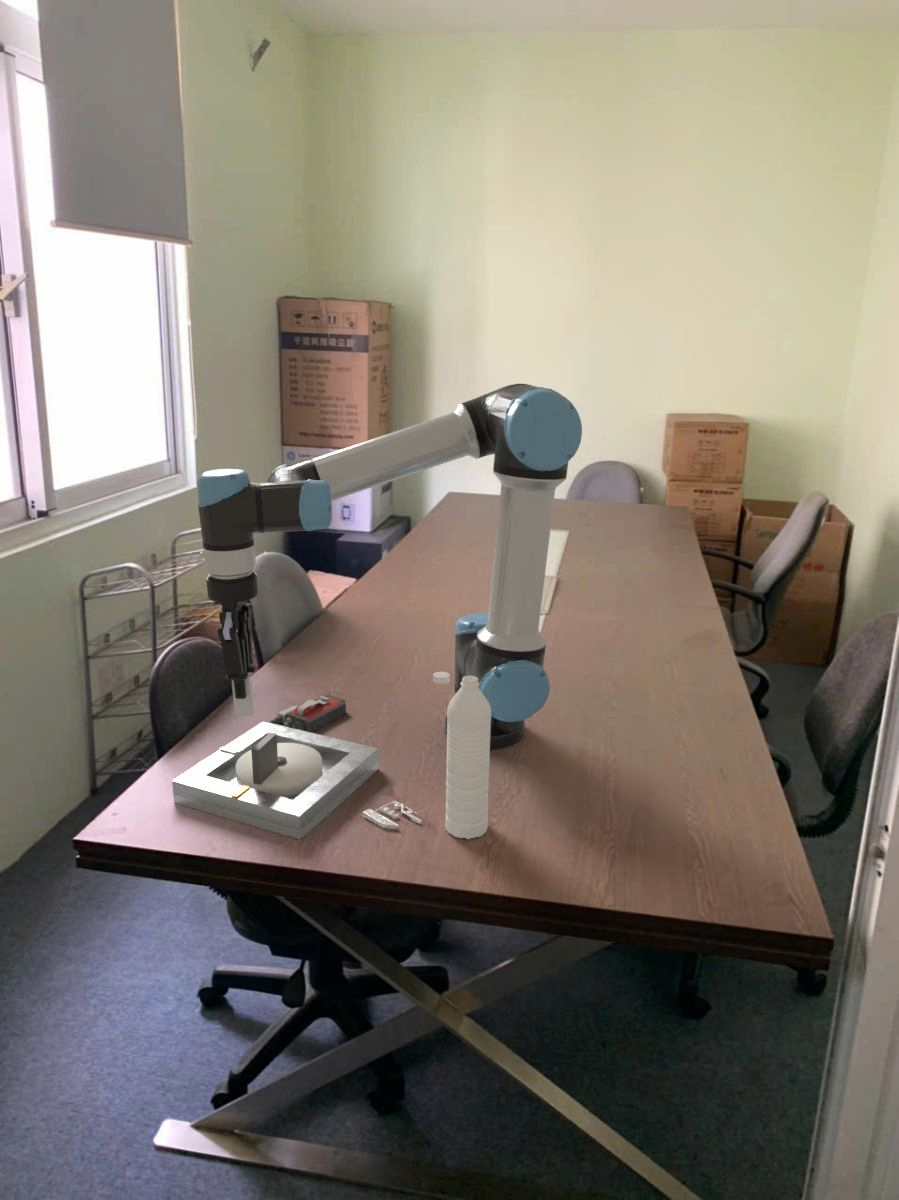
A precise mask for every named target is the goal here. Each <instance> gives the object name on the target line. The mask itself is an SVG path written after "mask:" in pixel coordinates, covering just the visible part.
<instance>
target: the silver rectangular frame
mask: <svg viewBox="0 0 899 1200" xmlns="http://www.w3.org/2000/svg"><path fill="white" fill-rule="evenodd" d="M268 722H269V721H261V722H260V723H258V724H257V725H255V726H254V727H252V728H251V729H249V730H247V731H246V732H245V733H243V734H242V735H240V736H238V737H236V738H235V739H233V741H231V742H229V743H228V744H225V746H221V747H219V749H218V750H217V751H216V752H214V753H212V754H211V755H209V756H207V757H206V758H205V759H202V760H201V761H199V762H198V763H196V765H194V766H192V767H191V768H190V769H188V770H186V771H185V772H184V773H182V774H179V776H177V777H176V778H174V779H172V781H171V782H172V783H171V785H172V793H173V794H172V795H173V803H174V804H176V805H180V806H184V807H187V808H191V809H193V808H194V809H193V810H197V809H198V811H200V810H201V812H203V811H204V813H208V814H210V813H211V815H214V816H217V817H221V818H225V819H228V820H232V821H235V822H239V823H242V824H244V823H245V824H244V825H248V824H249V825H248V826H251V825H252V827H255V826H256V828H258V827H259V829H261V828H262V830H265V829H266V831H268V830H269V832H272V833H275V832H276V833H275V834H278V833H279V835H282V836H285V835H286V836H287V837H289V836H290V837H289V838H292V837H293V839H295V838H297V839H296V840H299V839H301V838H302V839H303V838H304V837H306V835H307V834H308V832H309V833H310V832H311V831H312V830H313V829H314V828H315V827H316V826H317V825H318V824H319V823H321V822H322V821H323V820H324V819H325V818H326V817H327V816H329V814H331V813H332V812H333V811H334V810H335V809H336V808H338V806H340V805H341V804H342V803H343V802H345V800H347V798H349V796H351V795H352V794H353V793H354V792H356V790H357V789H358V788H360V787H361V786H362V785H363V784H364V783H365V782H366V781H367V780H368V779H370V778H371V777H372V776H373V775H374V774H375V773H376V772H377V771H379V748H377V747H374V746H369V745H365V744H361V743H357V742H353V741H348V740H344V739H339V738H336V737H332V736H327V735H323V734H319V733H314V732H312V733H310V732H306V731H302V730H298V729H294V728H291V727H285V726H284V725H280V724H272V723H268ZM269 733H275V734H277V743H297V744H302V745H306V746H309V747H311V748H313V749H315V750H316V751H318V752H319V753H320V755H321V757H322V776H321V777H320V778H319V779H318V780H317V781H315V782H314V783H313V784H312V785H310V786H309V787H308V788H307V789H306V790H304V791H303V792H302V793H299V794H296V795H292V796H287V797H281V796H277V795H273V794H270V793H266V792H262V791H259V790H255V789H251V788H249V787H248V786H240V785H238V784H237V779H236V763H237V760H238V759H239V758H240V757H241V756H242V755H243V754H244V753H246V752H248V751H250V750H251V749H252V748H253V747H254V746H256V745H257V744H258V743H259V742H260V741H261V740H262V739H263V738H264V737H266V736H267V735H268V734H269ZM310 830H311V831H310ZM286 836H285V837H286ZM302 839H301V840H302Z"/></svg>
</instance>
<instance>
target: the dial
mask: <svg viewBox="0 0 899 1200" xmlns="http://www.w3.org/2000/svg"><path fill="white" fill-rule="evenodd" d="M321 776H322V757H321V755H320V753H319V752H318V751H316V750H315V749H313V748H311V747H309V746H306V745H302V744H297V743H277V734H275V733H269V734H268V735H267V736H266V737H264V738H263V739H262V740H261V741H260V742H259V743H258V744H257V745H256V746H254V747H253V748H252V749H251V750H250V751H248V752H246V753H244V754H243V755H242V756H241V757H240V758H239V759H238V760H237V763H236V779H237V784H238V785H240V786H248V787H249V788H251V789H255V790H259V791H262V792H266V793H270V794H273V795H277V796H281V797H287V796H292V795H296V794H299V793H302V792H303V791H304V790H306V789H307V788H308V787H309V786H310V785H312V784H313V783H314V782H315V781H317V780H318V779H319V778H320V777H321Z"/></svg>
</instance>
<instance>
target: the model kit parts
mask: <svg viewBox="0 0 899 1200" xmlns="http://www.w3.org/2000/svg"><path fill="white" fill-rule="evenodd" d="M392 804H393V805H394V806H393V808H394V809H395V810H394V809H391V808H389V807H387V806H389V805H392ZM405 808H406V809H408V810H405ZM390 809H391V810H390ZM378 810H379V812H380V811H381V813H382V814H384V815H386V816H387V815H388V816H387V817H389V816H390V817H389V818H387V817H386V816H383V815H382V814H380V813H378V812H377V811H378ZM396 810H400V815H401V814H402V815H405V816H407V817H409V818H410V821H411V820H412V821H411V822H413V821H414V822H413V823H415V822H416V823H418V824H419V823H421V822H422V820H421V818H419V817H417V816H416V815H413V814H412V813H413V811H414V810H413V809H411V808H409V807H408V806H406V805H405V804H404V803H401V802H400V801H398V800H395V799H394V800H393V801H391V802H389V803H386V804H385V805H382V806H381V807H379V808H377V809H374V810H373V809H371V808H367V809H366V810H364V811H362V818H364V819H365V818H366V819H365V820H367V819H368V820H367V821H369V820H370V821H369V822H371V821H372V822H374V823H375V824H374V823H373V824H374V825H376V824H377V825H379V826H381V827H382V828H381V827H380V828H381V829H383V828H388V829H387V830H391V829H400V825H399V824H398V823H397V822H394V821H392V820H391V819H393V818H394V819H393V820H395V819H396V820H397V818H398V819H399V818H400V815H399V813H398V812H396V813H395V811H396ZM414 813H415V814H417V813H418V812H416V811H415V812H414ZM391 817H392V818H391ZM390 818H391V819H390ZM372 822H371V823H372ZM416 823H415V824H416ZM421 824H422V823H421ZM377 825H376V826H377ZM419 825H420V824H419ZM379 826H378V827H379ZM389 828H391V829H389Z"/></svg>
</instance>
